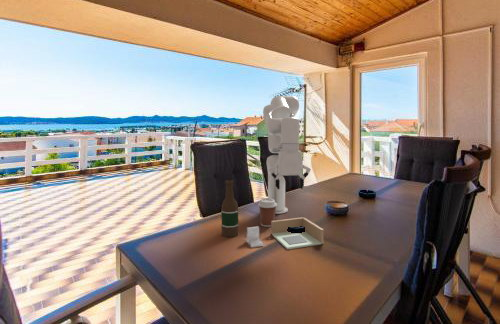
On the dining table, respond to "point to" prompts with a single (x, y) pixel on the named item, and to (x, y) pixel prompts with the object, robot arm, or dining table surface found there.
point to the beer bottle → (229, 212)
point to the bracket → (253, 237)
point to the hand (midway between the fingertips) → (289, 188)
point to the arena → (297, 240)
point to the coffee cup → (267, 211)
